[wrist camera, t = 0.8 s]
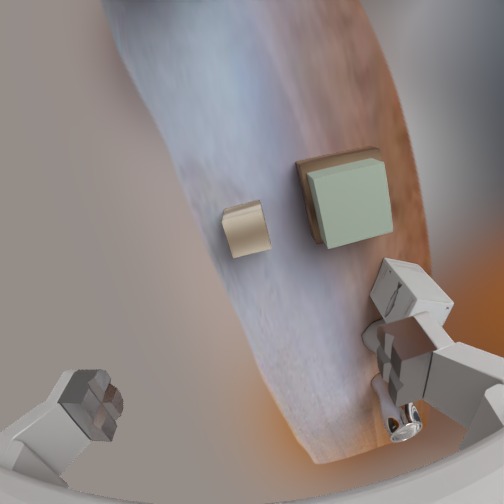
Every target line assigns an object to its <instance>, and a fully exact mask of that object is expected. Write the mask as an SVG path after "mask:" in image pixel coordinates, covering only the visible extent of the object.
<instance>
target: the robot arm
mask: <svg viewBox="0 0 504 504" xmlns="http://www.w3.org/2000/svg"><path fill="white" fill-rule="evenodd" d="M377 338H378V340H379V342H380V345H379V347H378V348H377V363H378V368H379V371H380V374H381V377H382V379H383V380H385V381H386V382H388V392H389V394H390V397H391V399H392V401H393V403H394V406H395V407H399V406H402V405H405V404H408V403H412V402H415V401H418V400H421V399H423V400H424V401H425V402H427V403H428V404H430V405H431V406H433V407H434V408H436V409H438V410H439V411H441V412H442V413H444V414H445V415H447V416H448V417H450V418H451V419H453V420H454V421H456V422H458V423H459V424H461V425H462V426H464V427H465V428H467V429H468V431H467V433H466V435H465V437H464V439H463V441H462V443H461V445H460V447H459V449H460V451H458V452H456V453H454V454H451V455H449V456H447V457H445V458H442V459H440V460H438V461H436V462H433V463H430V464H428V465H425V466H423V467H420V468H418V469H415V470H412V471H410V472H407V473H404V474H401V475H398V476H395V477H392V478H389V479H386V480H383V481H379V482H376V483H372V484H369V485H366V486H362V487H358V488H354V489H350V490H346V491H341V492H337V493H333V494H327V495H323V496H318V497H312V498H306V499H299V500H292V501H285V502H277V503H268V504H504V358H501V357H499V356H496V355H493V354H491V353H488V352H485V351H483V350H480V349H477V348H474V347H472V346H469V345H466V344H464V343H461V342H457V343H454V342H453V341H452V339H450V337H449V336H448V334H447V333H446V332H445V331H444V329H443V328H442V327H441V326H440V325H439V323H438V322H437V321H436V320H435V319H434V317H433V316H432V315H431V314H430V313H429V312H428V311H423V312H420V313H417V314H414V315H411V316H410V317H406V318H403V319H399V320H396V321H393V322H389V323H386V324H382V325H378V329H377ZM110 382H111V378H110V376H109V375H108V373H107V372H106V371H104V370H67V371H65V372H63V374H62V376H61V378H60V379H59V381H58V382H57V384H56V385H55V387H54V389H53V390H52V392H51V394H50V396H49V397H48V399H47V401H46V402H42V403H40V404H39V405H38V406H36V407H35V408H34V409H32V410H31V411H29V412H28V413H27V414H25V415H24V416H22V417H21V418H20V419H18V420H17V421H16V422H14V423H13V424H11V425H10V426H9V427H7V428H6V429H4V430H3V431H2V432H0V504H153V503H143V502H135V501H128V500H121V499H115V498H109V497H104V496H99V495H94V494H89V493H85V492H80V491H76V490H72V489H68V484H67V483H66V482H65V481H64V480H63V479H62V478H60V477H59V476H60V474H61V473H62V472H63V471H64V470H65V469H66V468H67V467H68V466H69V465H70V464H71V463H72V461H74V459H76V457H77V456H78V455H79V454H80V453H81V452H82V451H83V450H84V449H85V448H86V447H87V446H88V445H89V443H90V442H91V441H90V440H92V441H93V440H94V441H108V442H111V441H112V439H113V436H114V433H115V431H116V428H117V425H116V422H115V420H117V419H118V418H119V417H120V416H121V414H122V411H123V399H122V396H121V393H120V392H119V390H118V389H117V388H116V387H115V386H113V385H112V384H110Z"/></svg>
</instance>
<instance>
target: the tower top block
mask: <svg viewBox="0 0 504 504" xmlns="http://www.w3.org/2000/svg"><path fill="white" fill-rule="evenodd" d="M307 177H308V181H309V185H310V189H311V194H312V198H313V202H314V207H315V211H316V216H317V220H318V225H319V230H320V235H321V238H322V240H323V242H324V243H325V245H326V247H327V248H328V249H331V248H335V247H338V246H342V245H346V244H349V243H353V242H357V241H360V240H364V239H367V238H371V237H375V236H378V235H382V234H385V233H389V232H392V231H393V224H392V215H391V206H390V199H389V191H388V184H387V178H386V172H385V165H384V162H381V161H378V160H376V159H373V158H370V159H365V160H360V161H356V162H351V163H347V164H343V165H338V166H334V167H330V168H326V169H321V170H317V171H313V172H309V173H307Z"/></svg>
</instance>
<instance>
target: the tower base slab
mask: <svg viewBox="0 0 504 504" xmlns="http://www.w3.org/2000/svg"><path fill="white" fill-rule="evenodd" d="M370 158H373V159H376V160H378V161H381V162H382V159H381V153H380V149H379V148H375V147H372V146H368V147H362V148H357V149H352V150H347V151H342V152H337V153H332V154H327V155H323V156H318V157H314V158H309V159H305V160H300V161H296V165H297V170H298V174H299V178H300V183H301V187H302V191H303V196H304V200H305V205H306V210H307V214H308V219H309V224H310V229H311V234H312V236H313V238H314V240H315V242H316V244H320V243H324V242H323V240H322V238H321V235H320V230H319V225H318V220H317V216H316V211H315V207H314V202H313V198H312V194H311V189H310V185H309V181H308V177H307V173H309V172H313V171H317V170H321V169H326V168H330V167H334V166H338V165H343V164H347V163H351V162H356V161H360V160H365V159H370Z"/></svg>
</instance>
